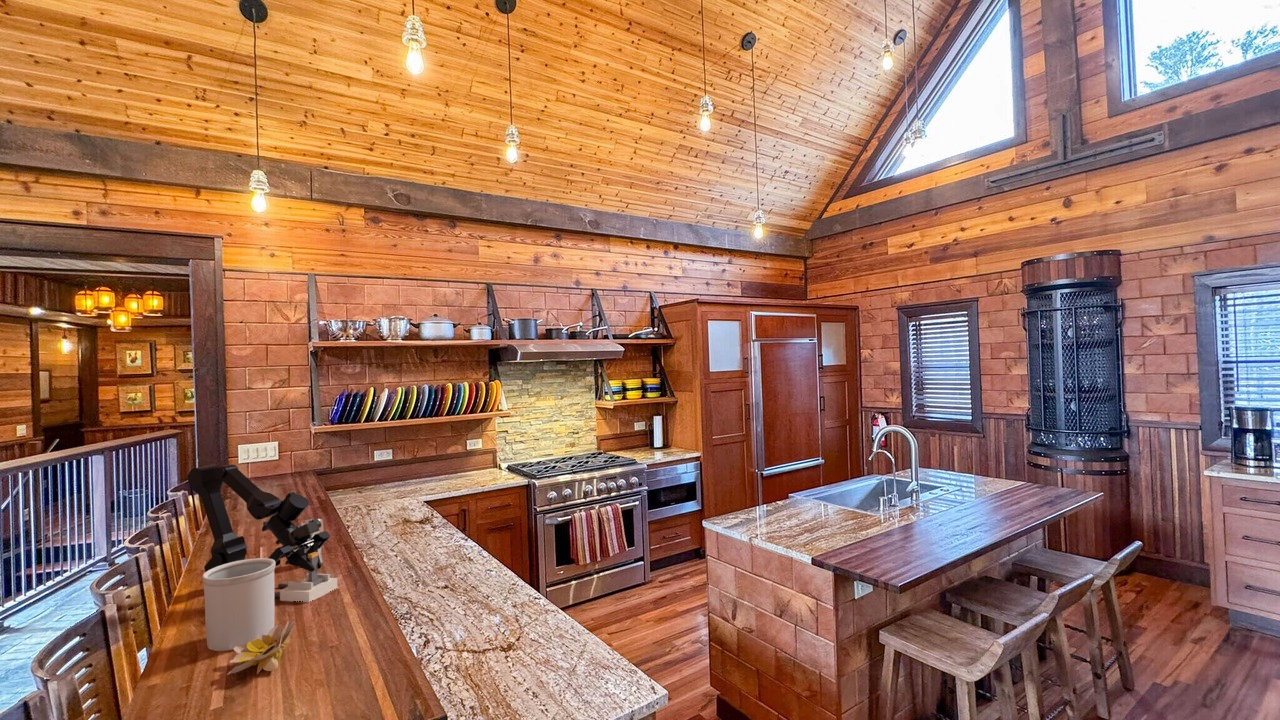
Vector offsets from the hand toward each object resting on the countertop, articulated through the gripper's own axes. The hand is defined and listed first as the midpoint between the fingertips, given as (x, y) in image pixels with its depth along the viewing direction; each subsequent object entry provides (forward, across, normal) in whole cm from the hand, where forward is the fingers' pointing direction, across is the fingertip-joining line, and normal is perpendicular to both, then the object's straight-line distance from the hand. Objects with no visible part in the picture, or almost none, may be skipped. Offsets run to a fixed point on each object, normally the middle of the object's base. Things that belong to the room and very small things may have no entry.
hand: (317, 569), depth 165 cm
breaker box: (0, 0, +11) cm, 11 cm away
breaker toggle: (+2, 0, +4) cm, 4 cm away
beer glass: (-12, +24, +22) cm, 35 cm away
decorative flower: (+19, -37, -8) cm, 43 cm away
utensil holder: (+7, -27, +4) cm, 29 cm away
